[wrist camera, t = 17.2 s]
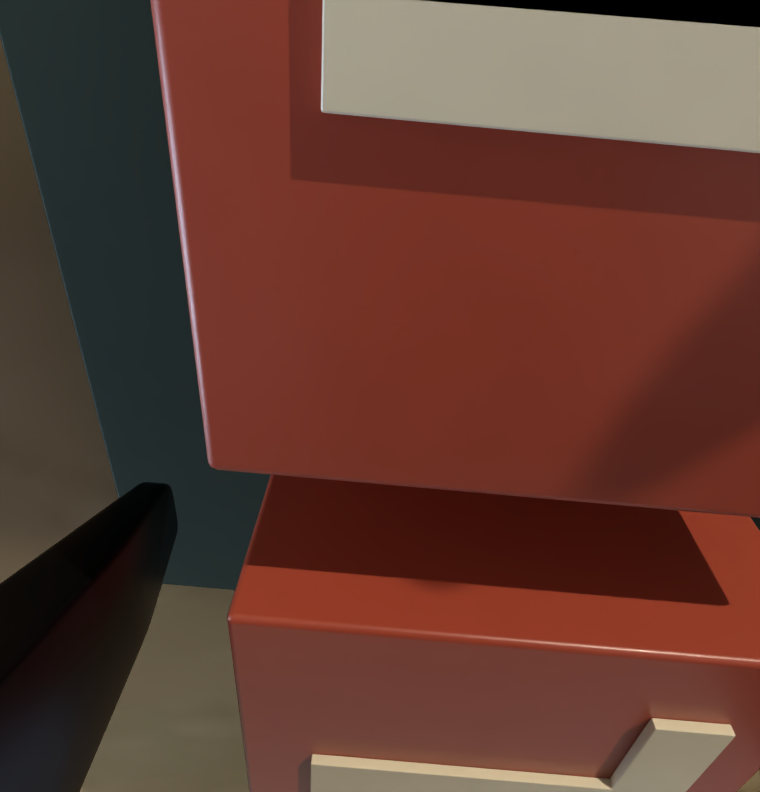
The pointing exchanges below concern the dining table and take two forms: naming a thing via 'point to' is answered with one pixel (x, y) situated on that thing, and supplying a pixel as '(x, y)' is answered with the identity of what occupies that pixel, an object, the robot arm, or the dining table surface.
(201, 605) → the dining table surface
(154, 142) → the word mat
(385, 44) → the red box-shaped block
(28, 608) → the robot arm
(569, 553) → the letter T
